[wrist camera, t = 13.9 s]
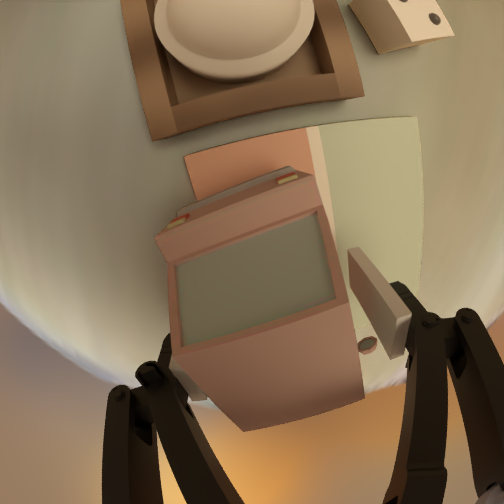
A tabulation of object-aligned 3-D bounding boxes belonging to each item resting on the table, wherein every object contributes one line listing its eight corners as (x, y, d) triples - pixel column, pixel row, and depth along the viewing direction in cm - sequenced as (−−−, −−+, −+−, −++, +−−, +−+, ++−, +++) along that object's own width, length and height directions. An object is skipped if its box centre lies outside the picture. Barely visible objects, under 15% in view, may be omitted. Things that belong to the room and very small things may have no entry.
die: (348, 4, 12) (376, -22, 7) (392, -2, 11) (425, -22, 6) (378, 54, 13) (416, 40, 9) (419, 45, 13) (458, 34, 8)
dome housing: (133, -3, 11) (117, -19, 8) (300, -39, 10) (308, -58, 7) (166, 138, 16) (152, 141, 13) (346, 99, 15) (364, 96, 12)
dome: (160, 0, 11) (125, -46, 5) (282, -25, 10) (300, -79, 4) (185, 99, 14) (150, 84, 8) (314, 72, 13) (356, 45, 8)
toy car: (252, 370, 22) (258, 476, 13) (160, 210, 16) (79, 317, 7) (356, 336, 21) (399, 436, 12) (309, 151, 14) (408, 197, 5)
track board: (187, 155, 16) (183, 156, 16) (409, 116, 15) (416, 116, 14) (249, 346, 24) (249, 354, 23) (410, 303, 23) (415, 309, 22)
